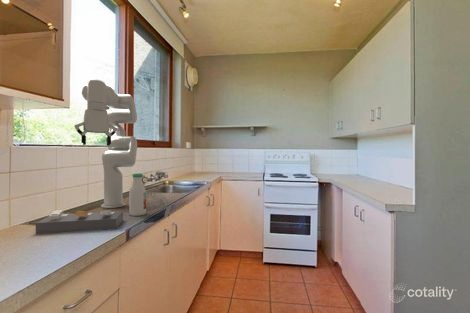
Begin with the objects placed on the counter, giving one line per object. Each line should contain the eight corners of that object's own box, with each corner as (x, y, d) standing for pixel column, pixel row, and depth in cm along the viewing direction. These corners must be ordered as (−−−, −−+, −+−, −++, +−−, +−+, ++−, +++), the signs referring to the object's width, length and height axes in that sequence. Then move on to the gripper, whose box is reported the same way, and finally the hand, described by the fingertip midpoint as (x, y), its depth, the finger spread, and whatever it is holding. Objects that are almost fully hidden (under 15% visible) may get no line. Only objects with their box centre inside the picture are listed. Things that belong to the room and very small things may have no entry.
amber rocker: (79, 215, 107) (79, 211, 108) (87, 214, 108) (87, 210, 108) (75, 215, 103) (75, 211, 103) (83, 215, 103) (84, 210, 104)
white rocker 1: (54, 213, 105) (54, 210, 105) (63, 213, 106) (62, 209, 106) (49, 219, 101) (48, 215, 100) (58, 219, 101) (57, 215, 101)
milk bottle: (140, 216, 124) (140, 174, 124) (125, 215, 125) (125, 174, 125) (149, 212, 131) (148, 173, 131) (135, 212, 133) (135, 173, 133)
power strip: (52, 223, 111) (52, 213, 111) (123, 219, 117) (123, 210, 117) (35, 233, 97) (35, 222, 97) (116, 228, 104) (116, 218, 104)
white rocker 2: (103, 214, 110) (103, 210, 110) (111, 213, 110) (111, 209, 110) (100, 214, 105) (100, 210, 105) (108, 213, 105) (108, 209, 106)
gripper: (115, 111, 127) (115, 146, 126) (73, 106, 116) (73, 145, 116) (119, 108, 121) (119, 145, 121) (75, 103, 110) (75, 144, 110)
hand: (96, 145), depth 118 cm, fingers open, 9 cm apart
